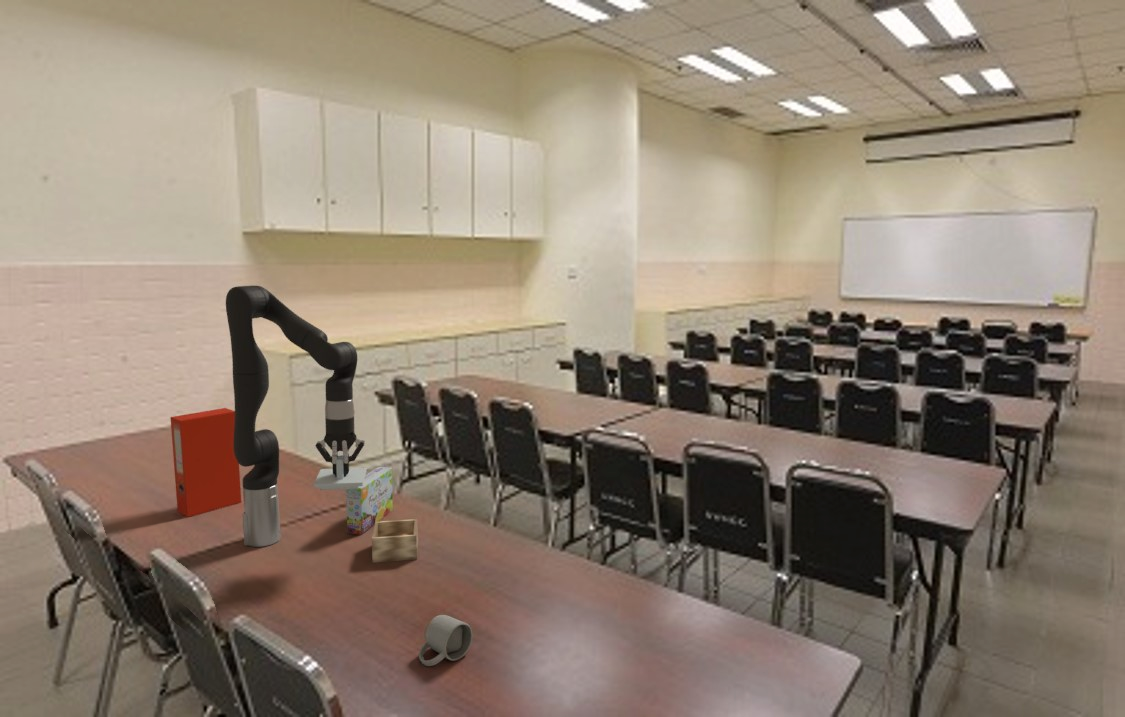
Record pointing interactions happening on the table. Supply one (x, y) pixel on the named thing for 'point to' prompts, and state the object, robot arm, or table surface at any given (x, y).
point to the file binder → (205, 461)
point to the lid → (340, 477)
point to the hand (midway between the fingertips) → (341, 475)
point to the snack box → (369, 501)
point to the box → (395, 540)
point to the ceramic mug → (446, 639)
